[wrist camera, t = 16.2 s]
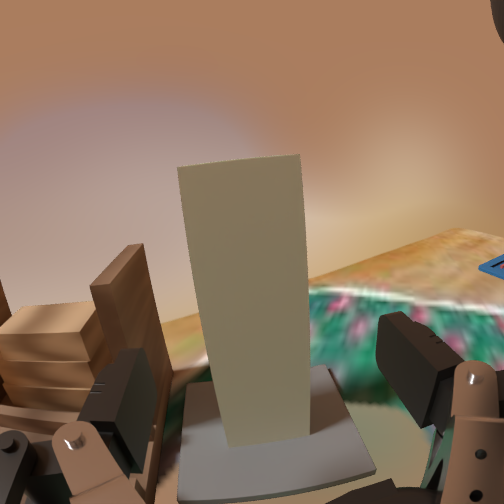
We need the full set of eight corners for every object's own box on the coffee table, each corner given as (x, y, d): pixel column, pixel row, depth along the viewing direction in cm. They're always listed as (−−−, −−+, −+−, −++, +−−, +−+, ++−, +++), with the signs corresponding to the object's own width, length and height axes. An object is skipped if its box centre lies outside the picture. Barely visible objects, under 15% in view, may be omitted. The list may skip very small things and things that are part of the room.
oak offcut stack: (133, 368, 24) (111, 296, 22) (118, 413, 19) (86, 333, 17) (39, 368, 24) (13, 305, 22) (14, 405, 18) (-21, 335, 16)
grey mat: (324, 370, 25) (325, 364, 24) (374, 474, 14) (376, 469, 14) (188, 388, 24) (186, 383, 24) (179, 505, 13) (176, 500, 13)
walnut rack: (173, 372, 26) (143, 243, 23) (150, 539, 11) (39, 379, 8) (27, 373, 25) (-13, 266, 22) (-43, 486, 10) (-132, 351, 7)
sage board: (299, 404, 20) (284, 154, 16) (309, 435, 17) (299, 154, 13) (226, 415, 20) (184, 165, 15) (228, 447, 17) (176, 167, 12)
